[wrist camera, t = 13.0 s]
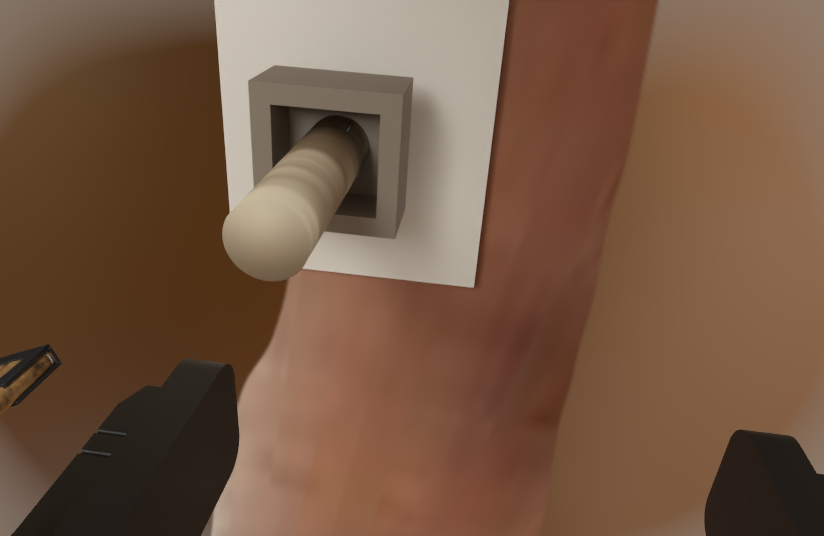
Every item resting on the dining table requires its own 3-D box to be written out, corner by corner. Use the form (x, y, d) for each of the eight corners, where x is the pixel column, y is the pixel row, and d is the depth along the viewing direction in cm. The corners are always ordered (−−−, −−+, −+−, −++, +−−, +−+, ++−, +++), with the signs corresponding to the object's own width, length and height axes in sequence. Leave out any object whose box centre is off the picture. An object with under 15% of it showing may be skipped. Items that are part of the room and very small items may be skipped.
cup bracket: (219, -80, 35) (137, -84, 27) (515, -59, 34) (520, -57, 26) (241, 250, 44) (185, 320, 36) (474, 277, 43) (469, 354, 35)
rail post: (308, 112, 33) (219, 195, 23) (370, 117, 33) (308, 205, 22) (309, 171, 35) (225, 276, 24) (368, 177, 34) (310, 285, 24)
